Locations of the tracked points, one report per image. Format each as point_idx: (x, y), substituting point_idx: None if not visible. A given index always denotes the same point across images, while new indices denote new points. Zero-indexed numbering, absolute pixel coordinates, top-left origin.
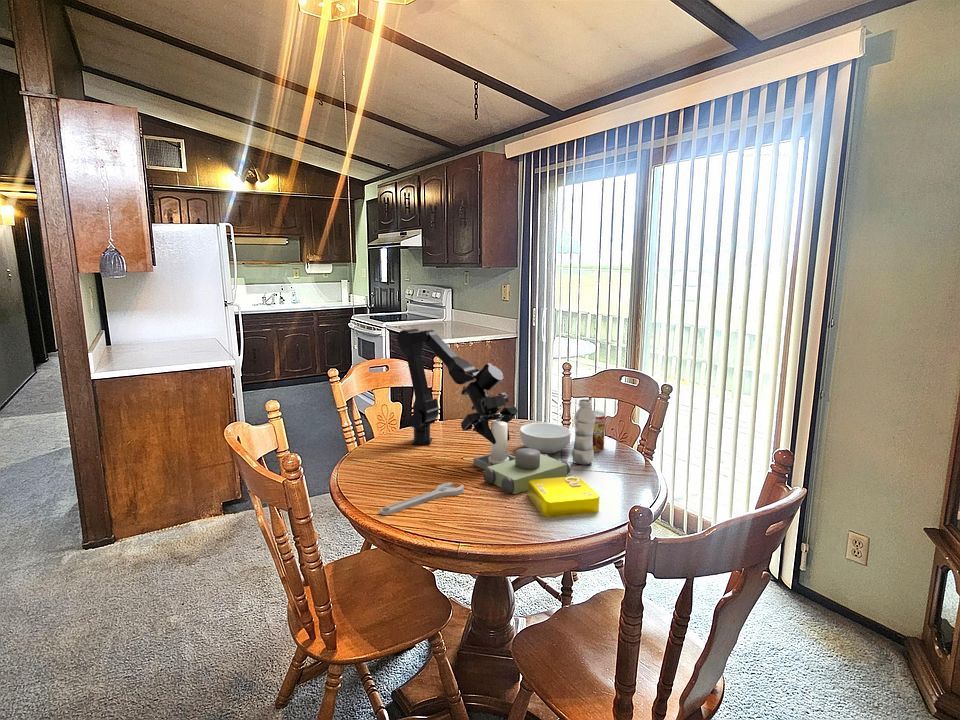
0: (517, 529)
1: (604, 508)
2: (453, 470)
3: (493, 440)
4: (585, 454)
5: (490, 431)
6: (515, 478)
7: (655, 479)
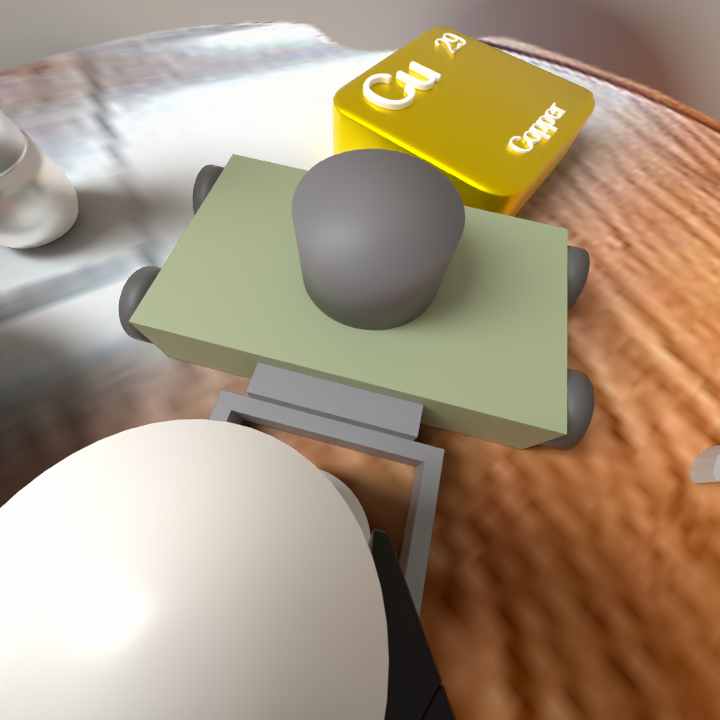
0: (683, 163)
1: None
2: None
3: (395, 559)
4: (39, 147)
5: (402, 690)
6: (549, 234)
7: (113, 41)
